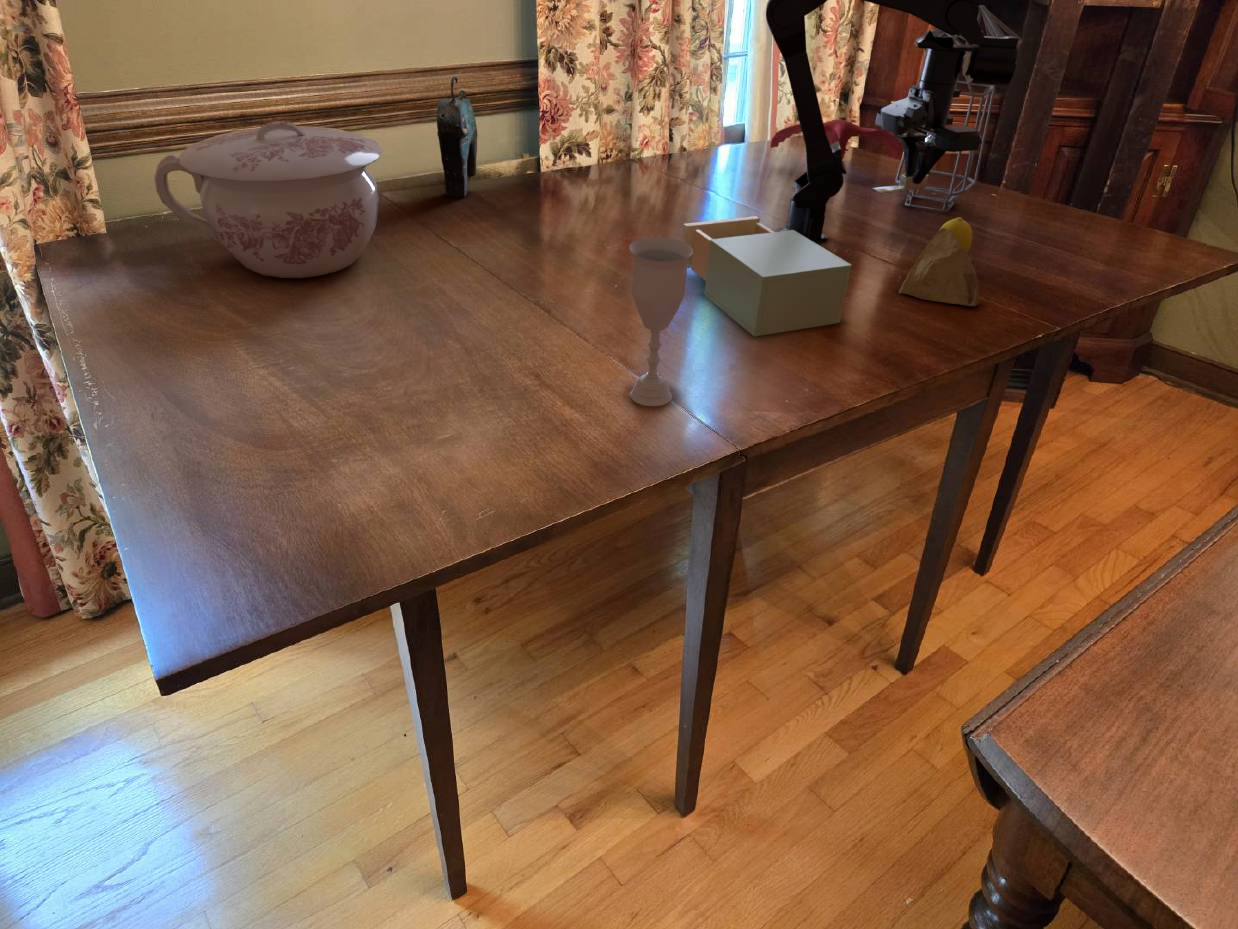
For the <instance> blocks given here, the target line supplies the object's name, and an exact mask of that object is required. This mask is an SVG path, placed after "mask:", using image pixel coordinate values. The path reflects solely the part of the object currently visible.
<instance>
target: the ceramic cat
mask: <svg viewBox="0 0 1238 929" xmlns="http://www.w3.org/2000/svg"><path fill="white" fill-rule="evenodd" d="M457 83H458V76H452V78H451V81H450V93H451V98H448V99H447V98H445V99H443V98H442V99H439V100H438V102H437V108H436V127H437V128H436V129H437V132H436V133H437V138H438V145H439V151H440V159H441V165H442V168H443V169H442V170H443V177H444V186H445V193H446V196H447V197H450V198H465V197H466V195H467V193H468V176H475V175H476V173H477V154H478V127H477V122H476V116H475V112H474V108H473V104H472V102H471V100H470V99H468V98H467V93H466V91H465V90H464V89H461V90H459V93H458V95H457V98H456V95H454V84H457ZM462 94H463V95H462Z"/></svg>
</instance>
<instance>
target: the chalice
mask: <svg viewBox="0 0 1238 929" xmlns="http://www.w3.org/2000/svg"><path fill="white" fill-rule="evenodd" d="M628 248H629V251H630V254H631V256H632V259H633V261H632V262H633V263H632V279H631V280H632V282H631V293H632V298H633V301H634V303H635V308H636V310H637V312H638V315H639V317H640V319H641V322H642V324H643V326H644V328H645V329H646V330H647V329H648V330H650V333H651V336H650V339H649V341H648V342H647V346H648V348H649V351H650V352H649V354H648V356H646V357H645V360H646V361H647V363H648V367H649V368H648V370H647V372H646V373H643V374H641V375H640V376H639V377H638V378H637V379H636V382H635V383H634V385H633V388H632V389H631V391H630V393H629V397H630V399H631V400H632V401H633V402H634V403H636V404H638V405H641V406H645V407H661V406H664V405H667V404H669V403H671V401H672V400H673V394H672V392H671V391H670V386H669V384H668V380H667V379H666V378H665V376H664V375H663V374H660V373H659V372H658V369H657V368H658V364H659V363H660V362H661V361H662V358H661V357H660V356H659V349H660V348H661V347H662V343H661V341H660V333H661V331H665V330H667V329H668V328H669V326H670V324H671V323H672V321H673V319H674V318H675V316H676V314H677V312H678V311H679V309H680V306H681V305H682V303H683V302H682V301H683V300H684V297H685V295H686V294H685V293H686V282H687V273H688V272H687V270H688V268H687V262H688V260H689V259H690V257H691V255H692V254H693V249H692V248H691V246H690V245H688V244H686V243H685V242H682V240H680V239H677V238H672V237H666V236H664V237H663V236H651V237H650V236H648V237H643V238H639V239H636V240H634V241H632V242H631V243H630V244H629V247H628Z"/></svg>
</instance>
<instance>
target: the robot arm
mask: <svg viewBox="0 0 1238 929" xmlns="http://www.w3.org/2000/svg"><path fill="white" fill-rule="evenodd" d="M827 1H828V2H829V0H768V1H767V2H766V6H765V21H766V24H767V26H768V28H769V31H770V33H771V35H772V37H773V40H774V42H775V44H776V46H777V48H778V50H779V52H780V54H781V56H782V59H783V61H784V65H785V69H786V74H787V77H788V81H789V84H790V88H791V93H792V97H793V102H794V105H795V110H796V112H797V117H798V121H799V124H800V125H801V129H802V132H801V134H802V137H803V141H804V151H805V167H806V171H805V172H803V173H802V174H800V176H798V177H797V178H796V179H794V180H793V181H792V191H793V192H792V194H793V196H790V200H789V205H788V214H787V219H786V220H787V221H786V226H785V227H782V228H778V231H777V232H780V231H789V230H794V231H796V232H798V233H799V234H801V235H803V236H804V237H806V238H808V239H809V240H811V241H813V242H814V243H815V242H821V241H828V238H829V237H828V236H827V235H826V234H824V233H823V230H824V226H825V220H826V210H827V204H828V202H829V200H830V198H833V197H835V196H836V195H837V194H838V193H839V192H840V191H841V189H842V187H843V186H844V175H847V174H848V173H847V168H846V164H845V162H844V159H842V156H841V148H840V144H839V141H837V142H835V143H833V144H831V143H830V141H829V139H828V137H827V135H826V132H825V128H824V124H823V123H824V120H823V116H822V111H821V107H820V104H819V98H818V94H817V90H816V86H815V81H814V77H813V73H812V69H811V65H810V60H809V57H808V52H807V35H806V31H807V30H806V19H805V18H806V17H805V16H808V15H809V14H811V13H812V12H814V11H815V10H816V9H818V8H819V7H820V6H822V5H823V4H825V3H826V2H827ZM863 1H864V2H868V3H872V4H875V5H878V6H882V7H885V8H889V9H892V10H896V11H899V12H903V13H906V14H910V15H912V16H914V17H916V18H917V19H920V20H921V21H923V22H924V23H926V24H929V25H930V26H932V27H934V28H935V29H937V28H938V29H940V30H942V31H943V32H945V33H947V34H950V35H959V36H960V37H961V39H962V40H964V41H965V42H968V43H969V45H966V44H963V45H959V44H957V43H955V42H954V41H953V37H949V36H944V35H943V36H933V34H932V30H931V29H926V31H925V32H924V33H923V34H922V35H920V36H919V37H917V39H915V40H914V41H913V44H914V46H916V48H918V49H923V50H924V49H926V52H925V51H924V54H925V56H924V58H923V61H922V65H921V70H920V73H919V78H918V82H917V84H916V85H911V88H909V91H908V93H907V94H908V95H907V97H905V98H903V99H899V100H897V101H894V102H892V103H890V104H889V105H888V104H887V105H886V106H882V107H881V109H879V110H878V111H877V113H876V118H875V122H874V125H875V126H878V127H880V128H881V130H882V131H885V132H888V133H891V134H892V135H893V136H894V137H896V138H897V139H898V140H899V142H900V143H901V144H902V148H903V151H902V153H904V168H905V169H904V170H905V173H906V174H915V178H914V183H915V184H920V183H921V182H922V181H923V179H924V178H925V177H926V175H929V174H930V173H929V172H930V170H932V169H933V168H934V166H936V165H937V163H938V162H939V160H940V159H941V158H942V157H943V156H944V155H945V154H946V153H947V152H949V153H958V152H961V151H962V152H970V151H973V150H976V151H978V150H979V148H980V146H981V142H982V135H981V134H982V133H980V132H979V131H978V130H975V128H972V127H966V126H965V125H955V126H954V125H953V122H954V119H955V118H954V117H952V116H949V115H950V112H951V109H952V108H951V107H952V104H953V100H954V98H960V96H961V95H960V92H962V90H961V89H958V88H957V86H958V83H957V81H959V77H960V73H961V70H962V76H964V77H965V76H968V83H970V84H983V85H991V86H992V85H996V87H997V86H999V87H1007V86H1009V85H1010V83H1011V81H1012V79H1013V77H1014V74H1015V72H1016V69H1017V63H1016V62H1017V55H1018V49H1017V44H1018V40H1019V39H1018V38H1016V37H1014V36H1010V35H1005V37H997V36H996V37H992V36H987V35H984V31H983V30H982V28H981V25H980V26H979V23H978V21H977V20H978V19H977V16H978V13H979V1H978V0H863ZM947 34H946V35H947ZM960 37H959V38H960ZM965 51H966V52H967V53H966V52H965ZM965 55H966V57H965V60H964V61H963V58H964V56H965ZM962 62H963V63H964V64H963V68H962V67H961V66H962ZM962 152H961V153H962Z"/></svg>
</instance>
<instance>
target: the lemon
mask: <svg viewBox="0 0 1238 929" xmlns="http://www.w3.org/2000/svg"><path fill="white" fill-rule="evenodd" d="M941 228H945V229H946V230H949V231H952V232H953V233H954V234H955V235H956V237H957V239H958V241H959V242H960V244H961V245H962V247H963V249H964V250H965V251H966V253H967V254H968V253H969V251H970V250H971V246H972V242H973V229H972V226H971V225H970V224H969V223H968V222H967V221H966V220H964V219H963V217H961V216H957V217H956V218H953V219H950V220H948V221H946V222H945V223H944V224H943V225H942V226H941V227H940V229H941Z"/></svg>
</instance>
